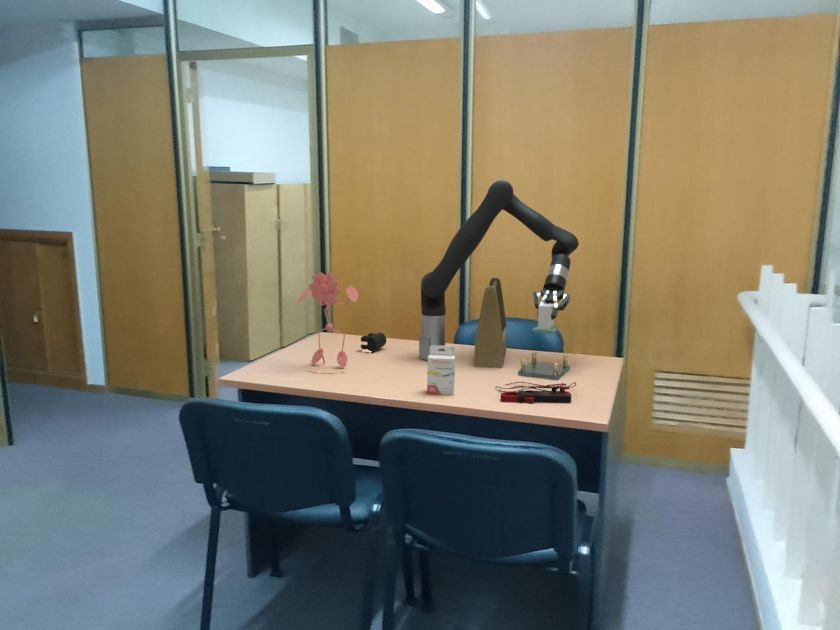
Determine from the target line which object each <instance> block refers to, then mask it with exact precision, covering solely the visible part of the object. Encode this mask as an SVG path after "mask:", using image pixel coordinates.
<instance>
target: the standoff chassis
mask: <svg viewBox="0 0 840 630" xmlns="http://www.w3.org/2000/svg"><path fill="white" fill-rule="evenodd" d="M537 352H538V351H531V353H532V354H531V361H530V362H529V363H528V364H526V361H527V360H526V358H521V359H520V369H519V370H518V371H517V375H518V376H520V377H527V378H537V379H545V380H546V379H547V380H552V381H553V380H554V381H558V380H560V377H561V376H562V377H563V376H564V375H565V374H566V373H567V372H568V371H569V370H571V368H570V367H571V365H570V364H569V363H568V362H569V354H563V361H562V364H559V362H557V361H555V362H553V363H550V362H544V361H537V357H538V356H537ZM562 377H561V378H562Z"/></svg>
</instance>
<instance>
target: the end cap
mask: <svg viewBox="0 0 840 630" xmlns="http://www.w3.org/2000/svg"><path fill="white" fill-rule="evenodd" d="M360 342H361V343H362V342H364V343H366V344H360V349H361V350H363V349H368V350H370V351H374V352H376V351H377V349H378V350H380V349H381V347H382V348H383V347H384V346H386V344H387V336H386V335H385V334H384V333H383V332H382V331H381V332H380V331H379V332H376V333H372V332H371V333H368V334H367V335H362V336H361V337H360ZM379 348H380V349H379ZM375 350H376V351H375Z"/></svg>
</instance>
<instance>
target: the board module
mask: <svg viewBox="0 0 840 630" xmlns="http://www.w3.org/2000/svg"><path fill="white" fill-rule="evenodd" d="M553 308H554V304H552V303H548V304H542V305H540V306H539V313H538V315H537V319H538V320H537V326H536V327H533V328H532V331H531V332H533V333H543V334H554V333H556V332H557V331H558V330H559V329H560V326H559V325H558V326H557V325H555V319H554V320H552V318H551V314H552V311H553Z"/></svg>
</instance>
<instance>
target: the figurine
mask: <svg viewBox="0 0 840 630" xmlns="http://www.w3.org/2000/svg"><path fill="white" fill-rule="evenodd" d="M312 280H313V282H311V283H310V284H309V285H308V288H306V289H305V290H303V292H302V293H301V294H300V295H299V297H298V299H297V301H296V302H297V304H298V303H300V302H302V300H304V299H305V298H306V297H307V296H308V294H309V293H310V292H311V294H310V295H311V296H310V297H311V298H313V299H315V302H316V305H318V306H325V305H326V306H327V307H325V309H324V310H323V312H324V315H325V318H326V321H327V324H325V327H324V328H323V329H321V330H319V331H318V332H317V333H318V334H317V335H318V345H319V346H318V349H317V350H315V352H314V353H313V355H312V357H311V360H309V362H311V366H314V365H315V364H317V363H318V362H319V361H320V360H322V361H323V364H326V360H325V358H324V349H323V348H322V347H321V341H320V339H321V338H320V333H321V332H323V331H325V330H326V331H329V332H331V331H334V332H337V333H339V334H340V335H343V340H342V347H341V350H340V351H338V353H337V356H336V362H337V364H338V365H339V367H340V368H341V369H344V368H345V367H347V362H348V355H347V353H346V352H345V351H344V345H345V339H346V334H345V333H343V332H341V331H339V330H337V329H335V328H334V326H333V324H332V323H330V322H329V318H328V314H327V310H328V309H329V308H330V307H331V306H332V305H333V304H338V305H342V306H348V304H349V301H351V302H352V303H355V304H356V303H357V301H358V298H359V293H358V291H357V289H356V288H355V287H354V286H351V285H348V287H347V288H346V297H347V298H346V303H344V302H339V301H338V298H337V296H338V295H340V294H341V293H342V290H341V288H340V287H338V286H337V285H338V281H337V280H336V279H334V276H333V273H332V272H328V273H327V274H326V275H325V274H324V273H323V272H321V271H319V272H318V274H313V275H312ZM305 371H306V372H308V373H309V372H310V373H311V371H309V370H305ZM312 373H313V374H316V372H314V371H312ZM343 373H345V372H344V371H343V372H342V371H341V374H343ZM321 374H323V375H324V374H327V375H334V374H336V372H333V373H332V372H328V373H327V372H325V373H324V372H321Z"/></svg>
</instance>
